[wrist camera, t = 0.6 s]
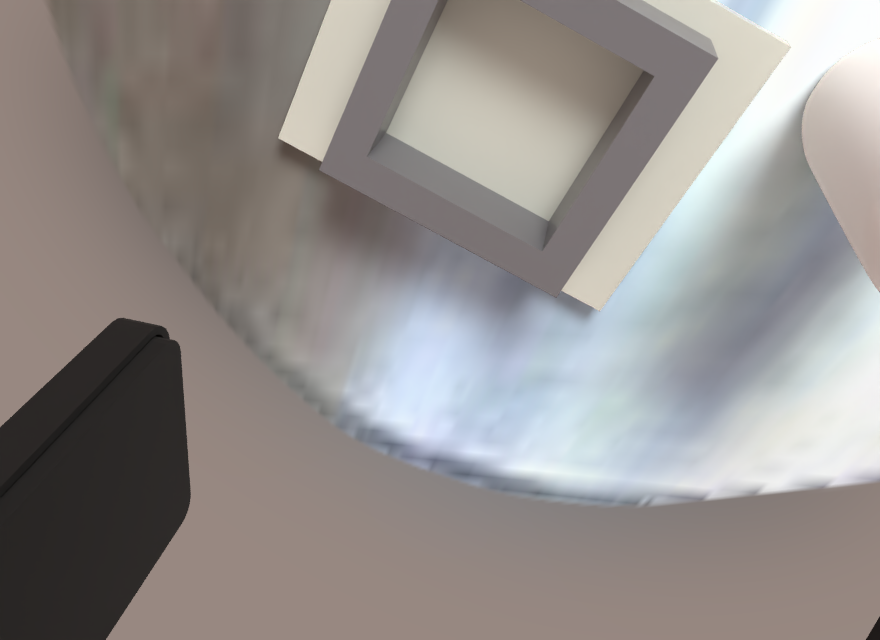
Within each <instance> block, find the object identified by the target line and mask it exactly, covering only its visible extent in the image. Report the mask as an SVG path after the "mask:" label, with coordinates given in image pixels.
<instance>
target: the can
mask: <svg viewBox="0 0 880 640" xmlns="http://www.w3.org/2000/svg"><path fill="white" fill-rule="evenodd" d="M802 142H803V149H804V153H805V156H806V159H807V162H808V164H809V166H810V168H811V170H812V172H813V174H814V176H815V178H816V180H817V182H818V184H819V186H820V188H821V190H822V192H823V194H824V196H825V197H826V199H827V201H828V203H829V205H830V207H831V209H832V211H833V213H834V214H835V216H836V218H837V220H838V222H839V224H840V226H841V227H842V229H843V231H844V233H845V235H846V237H847V239H848V240H849V242H850V244H851V246H852V248H853V250H854V251H855V253H856V255H857V257H858V259H859V261H860V262H861V264H862V266H863V268H864V269H865V271H866V273H867V275H868V276H869V278H870V279H871V281H872V283H873V284H874V286H875V287H876V288H877V290H878V291H879V292H880V38H879V39H876V40H873V41H870V42H868V43H866V44H864V45H862V46H860V47H858V48H856V49H855V50H853V51H851V52H850V53H848V54H847V55H845V56H844V57H843V58H841V59H840V60H839V61H838V62H837V63H836V64H834V65H833V66H832V67H831V68H830V69H829V70H828V71H827V72H826V74H825V75H824V76H823V77H822V78H821V80H820V81H819V82H818V84H817V85H816V87H815V88H814V90H813V92H812V93H811V95H810V97H809V99H808V101H807V103H806V106H805V109H804V113H803V119H802Z"/></svg>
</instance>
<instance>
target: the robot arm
mask: <svg viewBox="0 0 880 640" xmlns="http://www.w3.org/2000/svg"><path fill="white" fill-rule="evenodd" d="M190 495H191V494H190V478H189V464H188V449H187V435H186V422H185V408H184V393H183V378H182V364H181V351H180V346H179V344H178V343H177V342H176V341H175V340H170V339H169V334H168V332H167V330H166V329H165V328H164V327H162V326H158V325H154V324H149V323H144V322H140V321H135V320H130V319H125V318H118V319H116V320H115V321H113V322H112V323H111V324H110V325H109V326H107V328H105V329H104V330H103V331H102V332H101V333H100V334H99V335H98V336H97V337H96V338H95V339H94V340H93V341H92V342H91V343H89V344H88V345H87V346H86V347H85V348H84V349H83V350H82V351H81V352H80V353H79V354H78V355H77V356H76V357H75V358H73V359H72V361H70V362H69V363H68V364H67V365H66V366H65V367H64V368H63V369H62V370H61V371H60V372H59V373H57V374H56V375H55V376H54V377H53V378H52V379H51V380H50V381H49V382H48V383H47V384H46V385H45V386H44V387H43V388H41V389H40V390H39V391H38V392H37V393H36V394H35V395H34V396H33V397H32V398H31V399H30V400H29V401H28V402H27V403H26V404H24V405H23V406H22V407H21V408H20V409H19V410H18V411H17V412H16V413H15V414H14V415H13V416H12V417H11V418H10V419H9V420H8V421H6V422H5V423H4V424H3V425H2V426H1V427H0V640H106V638H107V637H108V635H109V634H110V632H111V631H112V629H113V628H114V626H115V625H116V623H117V622H118V620H119V618H120V617H121V616H122V614H123V613H124V611H125V609H126V608H127V606H128V605H129V603H130V602H131V600H132V599H133V597H134V596H135V594H136V593H137V591H138V590H139V588H140V587H141V585H142V583H143V582H144V580H145V579H146V577H147V576H148V574H149V573H150V571H151V570H152V568H153V567H154V565H155V563H156V562H157V561H158V559H159V557H160V556H161V554H162V553H163V551H164V550H165V548H166V547H167V545H168V544H169V542H170V541H171V539H172V538H173V536H174V535H175V533H176V532H177V530H178V528H179V527H180V525H181V524H182V522H183V520H184V519H185V516H186V514H187V511H188V508H189V504H190ZM866 640H880V617H879V619H878V620H877V622H876V624H875V625H874V627H873V629H872V631H871V632H870V634H869V636H868V637H867V639H866Z"/></svg>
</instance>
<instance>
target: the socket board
mask: <svg viewBox="0 0 880 640" xmlns="http://www.w3.org/2000/svg"><path fill="white" fill-rule="evenodd" d="M790 48H791V46H790V45H789V44H788V42H787V41H785V40H784V39H782V38H780V37H779V36H777V35H775V34H773V33H772V32H770V31H768V30H766V29H765V28H763V27H761V26H759V25H758V24H756V23H754V22H752V21H751V20H749V19H747V18H746V17H744V16H742V15H740V14H739V13H737V12H735V11H733V10H732V9H730V8H728V7H726V6H725V5H723V4H721V3H720V2H718V1H716V0H331V2H330V5H329V7H328V10H327V13H326V15H325V18H324V20H323V23H322V26H321V28H320V31H319V33H318V36H317V39H316V41H315V44H314V46H313V49H312V52H311V54H310V57H309V59H308V62H307V65H306V67H305V70H304V72H303V75H302V78H301V80H300V83H299V85H298V88H297V91H296V93H295V96H294V98H293V101H292V104H291V106H290V109H289V112H288V114H287V117H286V119H285V122H284V125H283V127H282V130H281V132H280V135H279V139H281V140H282V141H284V142H286V143H288V144H290V145H292V146H294V147H296V148H297V149H299V150H301V151H303V152H305V153H307V154H309V155H310V156H312V157H314V158H316V159H318V160H320V161H322V164H321V166H320V168H319V170H320V171H321V172H323V173H325V174H327V175H329V176H331V177H333V178H334V179H336V180H338V181H340V182H342V183H344V184H346V185H347V186H349V187H351V188H353V189H355V190H357V191H359V192H361V193H362V194H364V195H366V196H368V197H370V198H372V199H374V200H375V201H377V202H379V203H381V204H383V205H385V206H387V207H388V208H390V209H392V210H394V211H396V212H398V213H400V214H401V215H403V216H405V217H407V218H409V219H411V220H413V221H415V222H416V223H418V224H420V225H422V226H424V227H426V228H428V229H429V230H431V231H433V232H435V233H437V234H439V235H441V236H442V237H444V238H446V239H448V240H450V241H452V242H454V243H455V244H457V245H459V246H461V247H463V248H465V249H467V250H468V251H470V252H472V253H474V254H476V255H478V256H480V257H482V258H483V259H485V260H487V261H489V262H491V263H493V264H495V265H496V266H498V267H500V268H502V269H504V270H506V271H508V272H509V273H511V274H513V275H515V276H517V277H519V278H521V279H522V280H524V281H526V282H528V283H530V284H532V285H534V286H536V287H537V288H539V289H541V290H543V291H545V292H547V293H549V294H550V295H552V296H554V297H557V296H558V294H559V293H560V291H563V292H565V293H567V294H569V295H571V296H572V297H574V298H576V299H578V300H580V301H582V302H584V303H585V304H587V305H589V306H591V307H593V308H595V309H597V310H598V311H600V310H601V309H602V307H603V306H604V305H605V303H606V302H607V301H608V299H609V298H610V296H611V295H612V294H613V292H614V291H615V290H616V288H617V287H618V285H619V284H620V283H621V281H622V280H623V278H624V277H625V276H626V274H627V273H628V272H629V270H630V269H631V267H632V266H633V265H634V263H635V262H636V261H637V259H638V258H639V256H640V255H641V254H642V252H643V251H644V249H645V248H646V247H647V245H648V244H649V243H650V241H651V240H652V238H653V237H654V236H655V234H656V233H657V232H658V230H659V229H660V227H661V226H662V225H663V223H664V222H665V220H666V219H667V218H668V216H669V215H670V214H671V212H672V211H673V209H674V208H675V207H676V205H677V204H678V203H679V201H680V200H681V198H682V197H683V196H684V194H685V193H686V191H687V190H688V189H689V187H690V186H691V185H692V183H693V182H694V180H695V179H696V178H697V176H698V175H699V174H700V172H701V171H702V169H703V168H704V167H705V165H706V164H707V162H708V161H709V160H710V158H711V157H712V156H713V154H714V153H715V151H716V150H717V149H718V147H719V146H720V145H721V143H722V142H723V140H724V139H725V138H726V136H727V135H728V133H729V132H730V131H731V129H732V128H733V127H734V125H735V124H736V122H737V121H738V120H739V118H740V117H741V116H742V114H743V113H744V111H745V110H746V109H747V107H748V106H749V104H750V103H751V102H752V100H753V99H754V98H755V96H756V95H757V93H758V92H759V91H760V89H761V88H762V87H763V85H764V84H765V82H766V81H767V80H768V78H769V77H770V75H771V74H772V73H773V71H774V70H775V69H776V67H777V66H778V64H779V63H780V62H781V60H782V59H783V57H784V56H785V55H786V53H787V52H788V51H789V49H790Z"/></svg>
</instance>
